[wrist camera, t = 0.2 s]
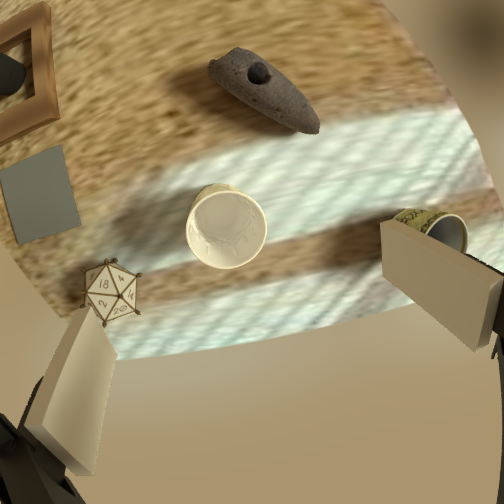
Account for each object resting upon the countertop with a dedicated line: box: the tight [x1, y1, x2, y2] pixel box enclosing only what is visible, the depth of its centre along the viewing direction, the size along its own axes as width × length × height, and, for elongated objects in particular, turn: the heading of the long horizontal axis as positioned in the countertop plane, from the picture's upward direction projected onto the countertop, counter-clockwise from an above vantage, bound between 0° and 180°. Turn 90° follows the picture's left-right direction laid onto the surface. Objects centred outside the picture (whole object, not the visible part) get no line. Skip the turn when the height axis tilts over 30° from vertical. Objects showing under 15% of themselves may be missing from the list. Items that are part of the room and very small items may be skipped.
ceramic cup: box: [393, 208, 468, 253], centre depth 40 cm, size 13×10×10 cm
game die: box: [80, 258, 142, 328], centre depth 36 cm, size 9×8×10 cm
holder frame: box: [0, 1, 60, 147], centre depth 26 cm, size 18×14×3 cm
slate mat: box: [0, 145, 81, 245], centre depth 34 cm, size 11×11×1 cm
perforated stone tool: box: [207, 47, 320, 135], centre depth 32 cm, size 15×5×7 cm, turn 53°
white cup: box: [186, 183, 267, 269], centre depth 35 cm, size 8×8×10 cm
